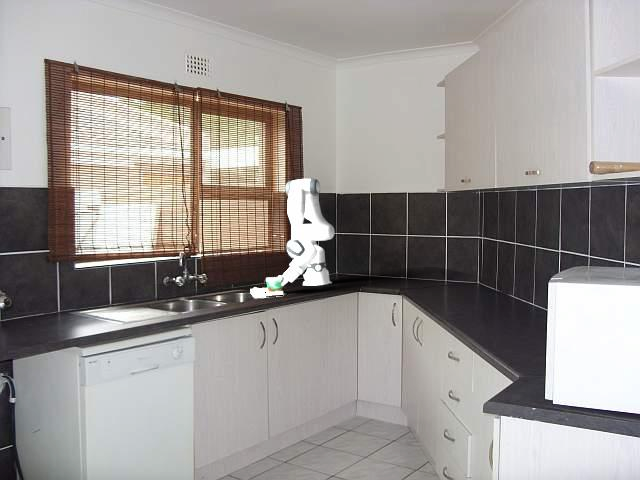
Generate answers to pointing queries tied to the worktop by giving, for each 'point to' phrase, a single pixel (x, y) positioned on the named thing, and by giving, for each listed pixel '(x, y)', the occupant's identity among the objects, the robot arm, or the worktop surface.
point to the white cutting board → (263, 292)
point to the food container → (274, 284)
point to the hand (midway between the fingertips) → (281, 285)
